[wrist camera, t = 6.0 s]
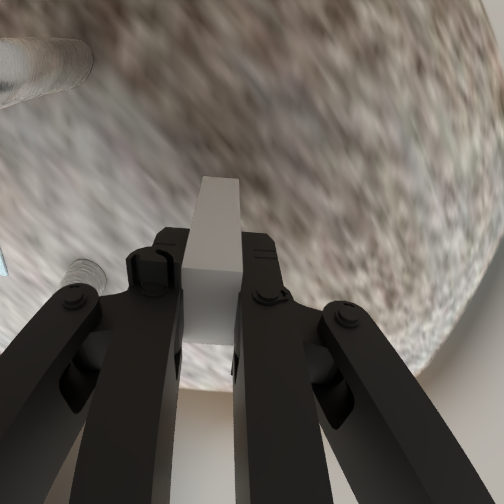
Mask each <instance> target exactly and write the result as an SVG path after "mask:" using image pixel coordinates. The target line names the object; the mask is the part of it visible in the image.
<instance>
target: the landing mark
mask: <svg viewBox="0 0 504 504" xmlns="http://www.w3.org/2000/svg"><path fill="white" fill-rule="evenodd" d="M0 275H2V276H8V272H7V269H6V266H5V263H4V259H3V256H2V253H1V250H0Z"/></svg>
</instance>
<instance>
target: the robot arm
mask: <svg viewBox="0 0 504 504" xmlns="http://www.w3.org/2000/svg"><path fill="white" fill-rule="evenodd" d="M126 266H127V274H128V282H129V288H128V290H127V291H125V292H122V293H118V294H113V295H106V296H99V294H98V292H97V291H96V289H95V288H94V287H92V286H91V285H89V284H85V283H73V284H69V285H66V286H64V287H62V288H60V289H59V290H58V291H57V292H55V293H54V294H53V295H52V297H51V298H50V299H49V300H48V301H47V302H46V303H45V304H44V305H43V306H42V307H41V309H40V310H39V311H38V312H37V313H36V314H35V315H34V316H33V318H32V319H31V320H30V321H29V322H28V323H27V324H26V326H25V327H24V328H23V329H22V330H21V331H20V333H19V334H18V335H17V336H16V337H15V338H14V340H13V341H12V342H11V343H10V344H9V346H8V347H7V348H6V349H5V351H4V352H3V353H2V354H1V356H0V504H43V503H44V500H45V498H46V496H47V494H48V492H49V490H50V488H51V486H52V484H53V482H54V480H55V478H56V476H57V474H58V472H59V470H60V468H61V466H62V464H63V462H64V461H65V459H66V457H67V455H68V453H69V451H70V449H71V447H72V445H73V444H74V442H75V440H76V438H77V436H78V434H79V432H80V431H81V429H82V427H83V425H84V423H85V422H86V424H85V428H84V432H83V436H82V440H81V444H80V449H79V453H78V458H77V463H76V468H75V473H74V478H73V483H72V488H71V494H70V500H69V504H169V503H170V486H171V469H172V456H173V455H172V454H173V443H174V431H175V420H176V408H177V399H178V390H179V380H180V371H181V363H182V339H183V342H188V343H201V344H215V345H232V346H234V354H233V361H232V369H231V375H233V417H234V460H235V493H236V504H334V503H333V497H332V491H331V485H330V480H329V474H328V468H327V463H326V457H325V452H324V446H323V441H322V436H321V430H320V425H321V427H322V429H323V431H324V434H325V436H326V438H327V440H328V442H329V444H330V446H331V448H332V450H333V452H334V454H335V456H336V458H337V460H338V462H339V464H340V466H341V469H342V470H343V473H344V475H345V477H346V479H347V481H348V483H349V485H350V487H351V489H352V491H353V493H354V495H355V497H356V499H357V501H358V503H359V504H495V502H494V500H493V499H492V497H491V495H490V494H489V492H488V490H487V489H486V487H485V485H484V483H483V482H482V480H481V479H480V477H479V475H478V473H477V472H476V470H475V468H474V467H473V465H472V464H471V462H470V460H469V459H468V457H467V455H466V454H465V453H464V451H463V449H462V448H461V446H460V445H459V443H458V441H457V440H456V438H455V437H454V435H453V434H452V432H451V431H450V429H449V428H448V426H447V425H446V423H445V422H444V420H443V418H442V417H441V415H440V414H439V412H438V411H437V409H436V408H435V406H434V405H433V403H432V402H431V400H430V399H429V398H428V396H427V395H426V393H425V392H424V391H423V389H422V387H421V386H420V384H419V383H418V382H417V380H416V379H415V377H414V376H413V374H412V373H411V372H410V370H409V369H408V367H407V366H406V365H405V363H404V362H403V360H402V359H401V358H400V356H399V355H398V353H397V352H396V351H395V349H394V348H393V346H392V345H391V344H390V342H389V341H388V340H387V338H386V337H385V336H384V334H383V333H382V331H381V330H380V329H379V327H378V326H377V325H376V323H375V322H374V321H373V319H372V318H371V317H370V315H369V314H368V313H367V312H366V311H365V310H364V309H363V308H362V307H360V306H358V305H356V304H354V303H351V302H348V301H333V302H330V303H328V304H327V305H326V306H325V307H324V309H323V311H320V310H317V309H313V308H309V307H306V306H303V305H301V304H299V303H297V302H295V301H294V300H293V297H292V295H291V293H290V291H289V290H288V289H287V288H285V287H284V286H283V281H282V276H281V271H280V266H279V261H278V257H277V253H276V247H275V242H274V241H273V240H272V239H271V238H270V237H269V235H268V234H264V233H252V232H241V217H240V194H239V179H234V178H222V177H209V176H203V179H202V183H201V187H200V191H199V195H198V199H197V203H196V207H195V211H194V215H193V219H192V223H191V228H190V229H186V228H172V227H165V228H164V229H163V230H161V231H160V232H159V233H158V234H157V235H156V237H155V240H154V243H153V245H152V247H144V248H140V249H137V250H135V251H134V252H132V253H130V254H129V256H128V257H127V258H126ZM319 423H320V425H319Z"/></svg>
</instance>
